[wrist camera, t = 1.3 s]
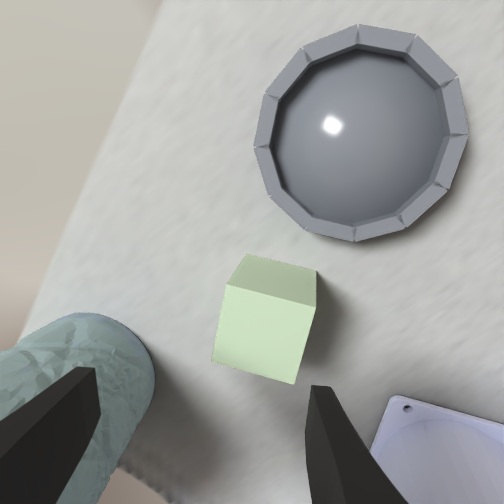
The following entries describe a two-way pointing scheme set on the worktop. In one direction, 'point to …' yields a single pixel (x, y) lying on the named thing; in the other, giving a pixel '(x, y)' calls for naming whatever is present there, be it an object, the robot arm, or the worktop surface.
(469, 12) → the worktop surface
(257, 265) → the block
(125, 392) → the teal plant pot
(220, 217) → the worktop surface
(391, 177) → the dish
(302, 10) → the worktop surface
